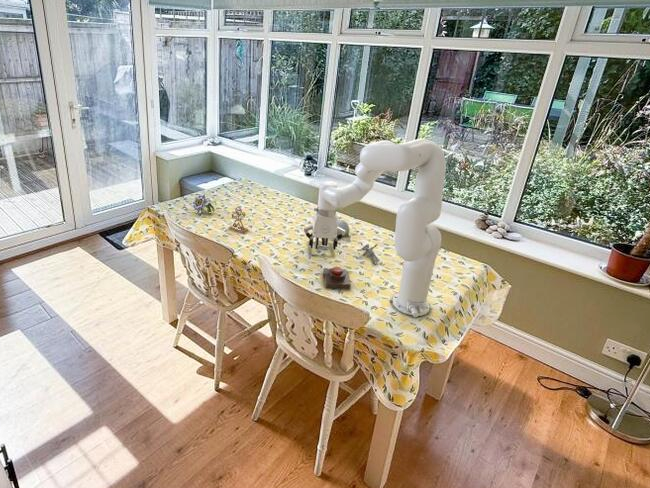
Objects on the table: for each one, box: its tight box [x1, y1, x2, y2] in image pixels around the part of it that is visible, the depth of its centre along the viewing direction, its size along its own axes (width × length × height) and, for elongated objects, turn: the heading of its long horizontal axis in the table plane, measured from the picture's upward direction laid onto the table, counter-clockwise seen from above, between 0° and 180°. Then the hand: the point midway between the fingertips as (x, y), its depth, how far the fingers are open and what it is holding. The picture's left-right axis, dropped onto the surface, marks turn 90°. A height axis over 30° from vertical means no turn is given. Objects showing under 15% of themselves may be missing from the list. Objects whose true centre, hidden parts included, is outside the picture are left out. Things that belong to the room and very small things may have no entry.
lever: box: [317, 238, 331, 250], centre depth 178 cm, size 12×5×2 cm
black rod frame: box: [314, 237, 329, 250], centre depth 183 cm, size 12×10×13 cm
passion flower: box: [190, 193, 218, 215], centre depth 221 cm, size 11×11×12 cm
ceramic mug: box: [337, 219, 351, 241], centre depth 194 cm, size 11×8×8 cm
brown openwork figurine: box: [228, 206, 249, 234], centre depth 200 cm, size 9×4×12 cm, turn 55°
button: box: [332, 266, 343, 275], centre depth 160 cm, size 4×4×2 cm
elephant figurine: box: [360, 243, 381, 265], centre depth 176 cm, size 10×6×9 cm
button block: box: [323, 267, 351, 290], centre depth 161 cm, size 11×9×4 cm
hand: (322, 247), depth 175 cm, fingers open, 9 cm apart
